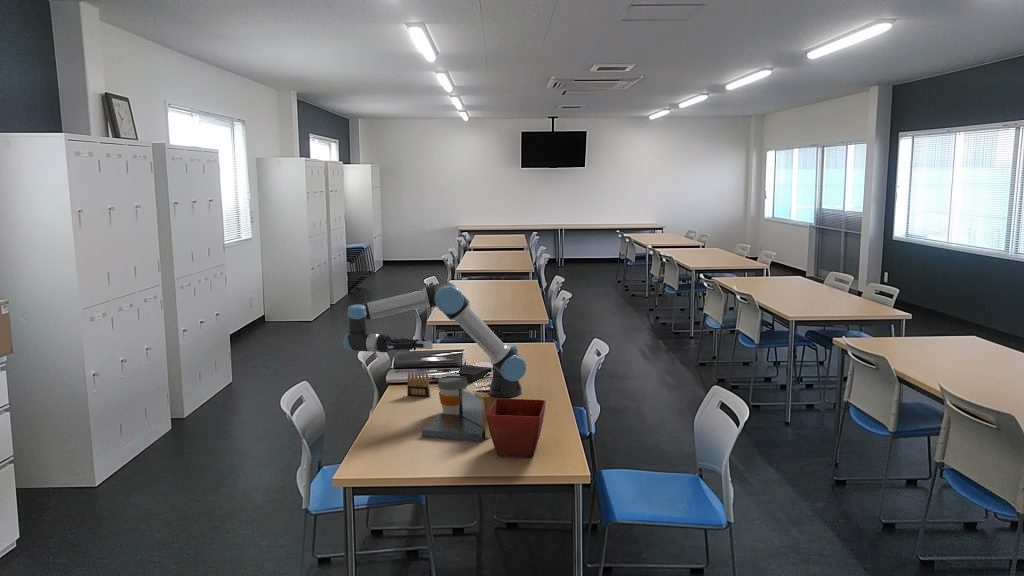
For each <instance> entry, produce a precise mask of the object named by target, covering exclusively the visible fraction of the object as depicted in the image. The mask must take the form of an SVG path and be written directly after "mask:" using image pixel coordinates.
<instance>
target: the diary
mask: <svg viewBox="0 0 1024 576" xmlns="http://www.w3.org/2000/svg"><path fill="white" fill-rule="evenodd" d="M462 365H463V366H462V367H461V368H460V371H459V373H457V374H460V376H463V377H466V379H467V384H472V383H473V382H475V381H477V380H479V379H481V378H482V379H484V378H485V377H484V376H485V375H486V374H487V373H488V372H492V373H493V369H492V368H491V367H488V366H487V367H485V366H476V365H472V364H471V365H470V364H462ZM449 370H450V371H451V369H444V370H437V371H443V372H449ZM455 373H456V372H455ZM483 377H484V378H483Z"/></svg>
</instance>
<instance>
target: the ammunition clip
mask: <svg viewBox="0 0 1024 576" xmlns="http://www.w3.org/2000/svg"><path fill="white" fill-rule="evenodd" d="M406 390H407V397H408V396H410V397H411V398H412V397H413V398H426V397H427V398H430V397H431V391H430V380H429V374H428V372H426V373H425V372H424V371H422V373H421V371H418V372H417V371H415V373H414V371H412V372H410V371H408V372H407V389H406ZM427 398H426V399H427Z"/></svg>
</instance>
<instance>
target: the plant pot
mask: <svg viewBox="0 0 1024 576" xmlns="http://www.w3.org/2000/svg"><path fill="white" fill-rule="evenodd" d="M545 410H546V400H544V399H527V398H526V399H525V398H523V399H522V398H501V397H498V398H496V399H494V401H493V403H492V405H490V409H489V411H488V413H487V421H488V426H489V430H490V434H491V441H492V443H493V446H494V449H495V453H496V454H497V457H501V458H502V457H505V458H520V459H521V458H524V459H528V458H529V459H532V458H533V457H534V455H535V452H536V449H537V447H538V443H539V441H540V436H541V431H542V427H543V421H544V417H545V412H546V411H545Z"/></svg>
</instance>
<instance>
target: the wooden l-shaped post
mask: <svg viewBox="0 0 1024 576" xmlns="http://www.w3.org/2000/svg"><path fill="white" fill-rule="evenodd" d="M474 393H475V397H477V398H478V399H480V400H481V403H482V430H484V440H486V439H490V438H491V434H490V430H489V426H488V421H487V413H488V411H489V409H490V408H491V395H489V394H487V393H485V392H483V391H478V392H474ZM491 439H492V438H491Z"/></svg>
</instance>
